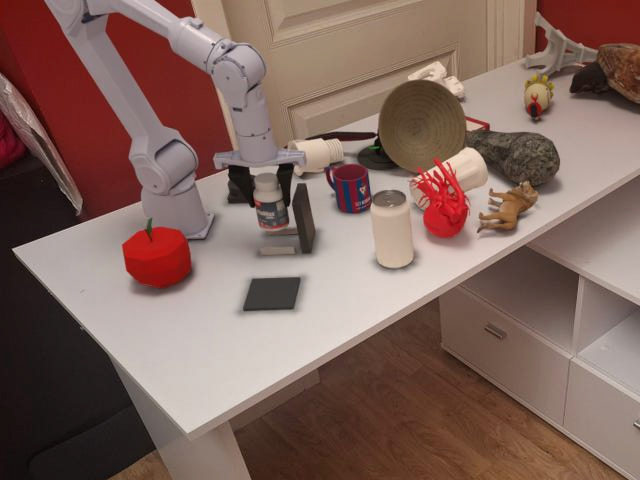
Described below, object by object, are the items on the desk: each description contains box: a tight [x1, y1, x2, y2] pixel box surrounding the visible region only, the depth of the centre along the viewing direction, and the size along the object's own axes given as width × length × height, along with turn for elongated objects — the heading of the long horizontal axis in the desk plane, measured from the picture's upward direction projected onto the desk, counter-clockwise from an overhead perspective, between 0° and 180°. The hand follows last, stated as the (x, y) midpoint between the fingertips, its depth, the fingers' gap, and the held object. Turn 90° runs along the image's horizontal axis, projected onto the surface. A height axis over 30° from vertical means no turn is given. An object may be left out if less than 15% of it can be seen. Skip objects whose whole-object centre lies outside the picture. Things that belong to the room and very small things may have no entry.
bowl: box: [377, 78, 467, 174], centre depth 145 cm, size 18×18×8 cm
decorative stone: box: [466, 129, 561, 187], centre depth 140 cm, size 22×10×10 cm
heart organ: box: [408, 158, 471, 239], centre depth 124 cm, size 10×12×12 cm
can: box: [370, 188, 415, 270], centre depth 118 cm, size 6×6×12 cm
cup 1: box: [324, 163, 372, 214], centre depth 134 cm, size 7×10×7 cm
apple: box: [121, 217, 192, 289], centre depth 115 cm, size 11×11×10 cm
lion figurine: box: [476, 181, 539, 234], centre depth 129 cm, size 15×5×9 cm
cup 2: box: [408, 147, 489, 211], centre depth 134 cm, size 8×8×14 cm
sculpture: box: [568, 42, 640, 104], centre depth 165 cm, size 16×17×25 cm
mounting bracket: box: [407, 60, 466, 99], centre depth 171 cm, size 12×6×11 cm
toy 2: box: [523, 74, 555, 121], centre depth 163 cm, size 7×7×15 cm
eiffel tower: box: [524, 11, 599, 81], centre depth 182 cm, size 13×13×30 cm
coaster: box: [242, 276, 301, 312], centre depth 115 cm, size 8×8×1 cm
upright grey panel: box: [259, 182, 316, 256], centre depth 122 cm, size 9×7×10 cm
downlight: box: [287, 138, 345, 177], centre depth 144 cm, size 8×7×10 cm
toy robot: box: [356, 130, 401, 171], centre depth 145 cm, size 12×12×12 cm
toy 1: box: [282, 131, 377, 149], centre depth 148 cm, size 2×22×5 cm
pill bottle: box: [253, 172, 290, 231], centre depth 120 cm, size 5×5×9 cm
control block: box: [226, 173, 257, 204], centre depth 137 cm, size 6×6×3 cm
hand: (271, 204), depth 120 cm, fingers closed on pill bottle, 5 cm apart
